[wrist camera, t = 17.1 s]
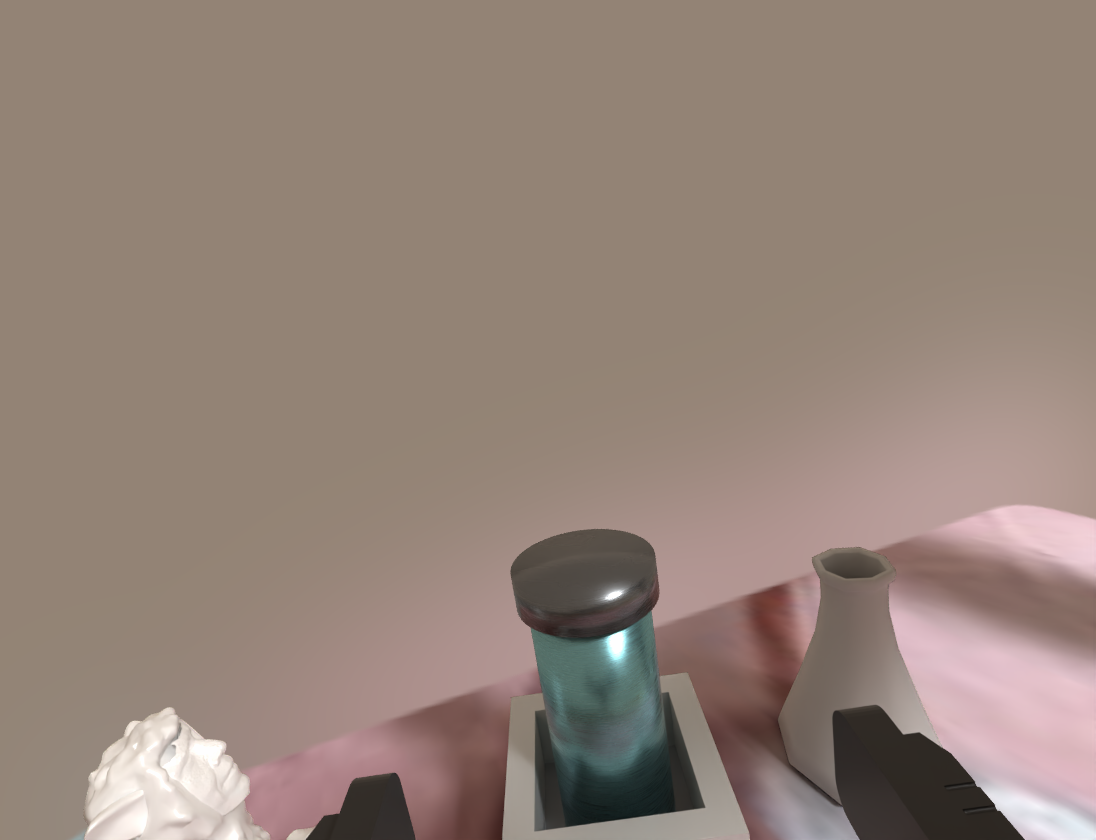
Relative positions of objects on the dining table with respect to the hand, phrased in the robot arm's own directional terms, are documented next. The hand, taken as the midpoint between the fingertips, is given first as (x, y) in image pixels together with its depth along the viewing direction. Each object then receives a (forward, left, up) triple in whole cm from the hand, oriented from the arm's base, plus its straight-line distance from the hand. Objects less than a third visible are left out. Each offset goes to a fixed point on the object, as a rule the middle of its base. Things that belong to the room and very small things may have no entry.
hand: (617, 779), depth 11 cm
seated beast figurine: (+14, -8, -15) cm, 23 cm away
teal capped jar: (0, -12, -14) cm, 18 cm away
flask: (-12, -15, -16) cm, 25 cm away
